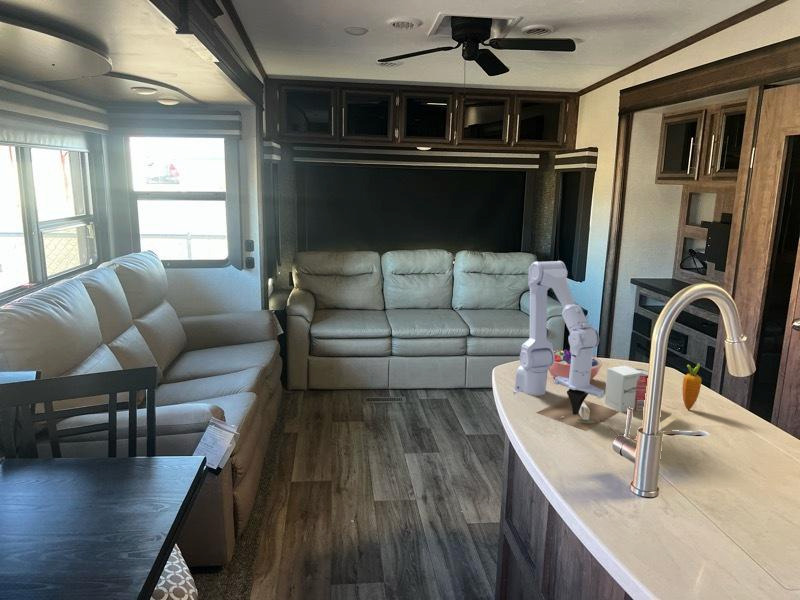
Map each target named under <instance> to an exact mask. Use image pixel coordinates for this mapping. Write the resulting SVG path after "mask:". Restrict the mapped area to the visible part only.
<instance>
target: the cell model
mask: <svg viewBox="0 0 800 600" xmlns="http://www.w3.org/2000/svg"><path fill="white" fill-rule="evenodd" d="M553 353H554V356H555V360H554V363H553V365H552V366H551V367H550V370H548V372H549V373H550V375H551V376H552V377H553V378H555V377H558V376H560V377H564V378H569V374H570V364H571V355H572V353H571V352H570V350H567V349H566V348H564V350H553ZM602 366H603V362H602V361H601V358H599V357H596V356H594V355H593V358H592V367H591V376H590V382H591V381H592V380H593V379H594V378H595V377H596V376H597V374H598V373H599V371H600V369H601V368H602Z"/></svg>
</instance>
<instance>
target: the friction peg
mask: <svg viewBox="0 0 800 600" xmlns="http://www.w3.org/2000/svg"><path fill="white" fill-rule="evenodd" d="M579 414H580V416H581V417H582V419H583V420H589V414H590V409H589V408H588V407H587V405H586V404H585V403H584V401H583V403H582V405H581V407H580V410H579Z"/></svg>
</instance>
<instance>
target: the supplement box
mask: <svg viewBox="0 0 800 600" xmlns="http://www.w3.org/2000/svg"><path fill="white" fill-rule="evenodd" d="M636 369H637V368H633V367H631V366H628V365H625V364H624V365H620V366H614V367H608V368H607V370H606V378H605V379H606V383H605V390H604V404H605V405H606V406H609V408H611V409H613V410H616V411H619V413H625V412H628V411H627V408H629V407H630V408H633V410H632V411H635V410H634V405H635V396H636V387H637V381H638V379H639V377H640V375H642V374H643V372H640V371H638V370H636Z"/></svg>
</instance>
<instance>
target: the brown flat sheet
mask: <svg viewBox="0 0 800 600" xmlns="http://www.w3.org/2000/svg"><path fill="white" fill-rule="evenodd" d="M584 403H585V404H586V405H587V407H588V408H589V409H590V414H589V420H583V419H582V417H581V416H580V414H579V413H578V414H576V415H574V414H573V410H572V405H571V401H570V399H569V396H568V397H566V398H564V399H562V400H560V401H558V402H556V403H553V404H551V405H549V406H547V407H545V408H543V409H540V410H539V411H537V412H536V414H539V415H541V416H544V417H547V418H549V419H552V420H555V421H557V422H561V423H562V424H565V425H568V426H571V427H573V428H577V429H579V430H582V431H585V432H587V431H588V430H591V429H592V428H594V427H596V426H597V425H599V424H601V423H602V422H603V423H604V422H606V420H608V419H610V418H612V417H613V416H616V415H617V414H619V413H620V412H619V411H617V410H615V409H613V408H611V407H606V406H603V405H601V404H597V403H594V402H592V401H588V400H586V399H585V400H584Z"/></svg>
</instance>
